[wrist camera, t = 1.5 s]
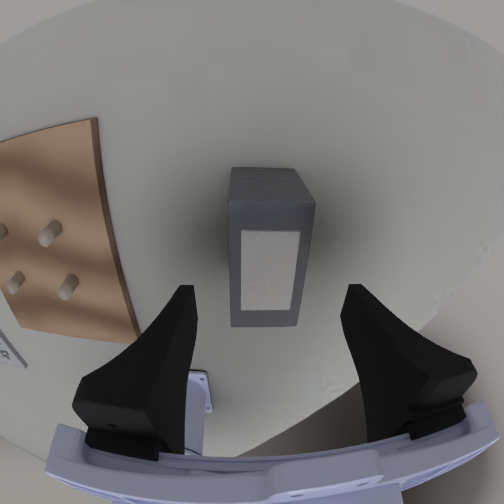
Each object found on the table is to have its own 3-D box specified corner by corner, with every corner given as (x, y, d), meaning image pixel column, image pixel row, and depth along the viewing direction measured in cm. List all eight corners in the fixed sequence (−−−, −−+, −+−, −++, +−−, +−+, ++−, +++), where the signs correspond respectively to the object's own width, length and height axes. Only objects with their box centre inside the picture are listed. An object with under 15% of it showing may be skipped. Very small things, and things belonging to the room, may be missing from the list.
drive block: (284, 270, 22) (296, 327, 17) (232, 269, 22) (231, 328, 17) (293, 168, 18) (315, 203, 13) (232, 166, 18) (228, 202, 13)
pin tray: (141, 336, 26) (134, 360, 23) (24, 321, 25) (13, 339, 23) (97, 117, 16) (74, 124, 13) (-34, 155, 15) (-55, 166, 12)
